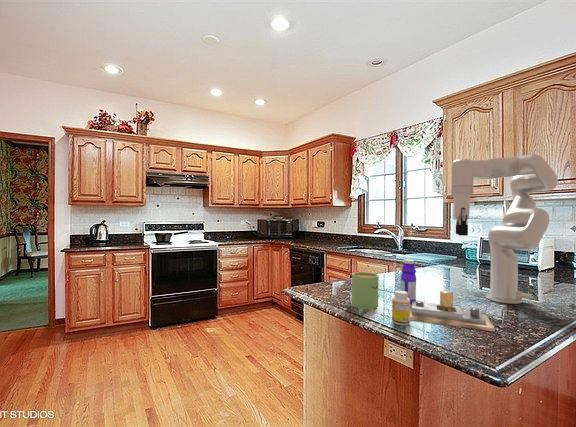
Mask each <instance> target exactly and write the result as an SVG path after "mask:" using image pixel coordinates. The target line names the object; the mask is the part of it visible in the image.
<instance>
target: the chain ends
mask: <svg viewBox="0 0 576 427" xmlns="http://www.w3.org/2000/svg"><path fill="white" fill-rule="evenodd" d="M411 306H412V315H419V316H426V317H433V318H440V319H448V320H455V321H462V322H470V323H477V324H484V325H486V320H485V319H484V317H483V315H484V314H482V312H480V308H477V307H470V310H469V311H468V310H462V308H461V306H455V305H453V312H451V311H443V310H440V303H439V304H438V303H430V302H424V301H417V300H416V302H415V301H413V302H412V304H411Z"/></svg>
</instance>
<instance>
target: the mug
mask: <svg viewBox="0 0 576 427" xmlns="http://www.w3.org/2000/svg"><path fill="white" fill-rule="evenodd" d="M379 278H380V277H379V274H377V273H374V272H373V273H372V272H363V271H362V272H361V271H360V272H359V271H358V272H352V274H351V306H353V307H354V308H357V309H361V310H362V309H363V310H374V308H375V309H377V307H379V297H380V295H379V286H380V283H379Z"/></svg>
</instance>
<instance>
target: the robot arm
mask: <svg viewBox="0 0 576 427" xmlns="http://www.w3.org/2000/svg"><path fill="white" fill-rule="evenodd" d="M511 177H512V178H511ZM502 178H511V179H510V181H509V182H510V183H509V186H510V187H509V188H510V191H511V195H512V202H511V204H510V206H509V207H508V208H507V210H506V212H505V214H504V216H503V217H502V224H503V225H499V226H494V227H492V228H491V229H489V231H488V234H487V235H488V236H487V238H488V244H489V249H490V283H489V284H490V293H487V294H485V297H486V300H487V299H488V300H490V301H493V302H497V303H502V304H509V305H518V304H521V303H523V299H528V300H532V298H533V296H532V294H531V293H525V292H521V291H519V290H518V289H519V288H518V286H519V285H518V280H519V276H518V275H519V271H518V270H519V266H518V265H519V261H518V256H517V254H516V253H515V252H514V250H516V251H527V252H528V251H533V250H535V249H536V248H537V247H538V245H539V244H540V242H541V241H542V238H543V237H544V235H545V233H546V231H547V229H548V227H549V225H550V215H549V213H548V212H547V211H546V210H545V209H543V208H540V207H539V208H538V207H536V206H537V204H536V201H535V199H534V198H533V197H532V196H531V195H530V193H531V192H534V193H535V192H550V191H553V190H554V189H555V188H557V186H558V184H559V183H558V182H559V180H558V176H557V173H555V171H554V169H553V168H552V167H551V165H549V163H548V162H547V160H545V158H543V157H542V155H540V154H537V153H532V154H531V153H530V154H524V155H523V154H522V155H517V156H507V157H494V158H490V159H485V160H484V159H478V160H477V159H476V160H472V159H470V158H469V159H468V158H465V159H464V158H463V159H455V160H454V161H452V163H451V178H450V179H451V183H450V184H451V191H450V193H451V194H450V195H451V196H453V203H452V204H453V206H452V207H453V210H452V219H453V220H455V221H456V224H455V234H456V235H458V236H461V237H463V236H465V237H467V236H469V224H468V220H469V219H470V210H471V209H470V208H471V206H470V202H471V201H470V200H471V197H470V196H473V195H474V181H475V180H476V181H477V180H491V179H493V180H494V179H502Z"/></svg>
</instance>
